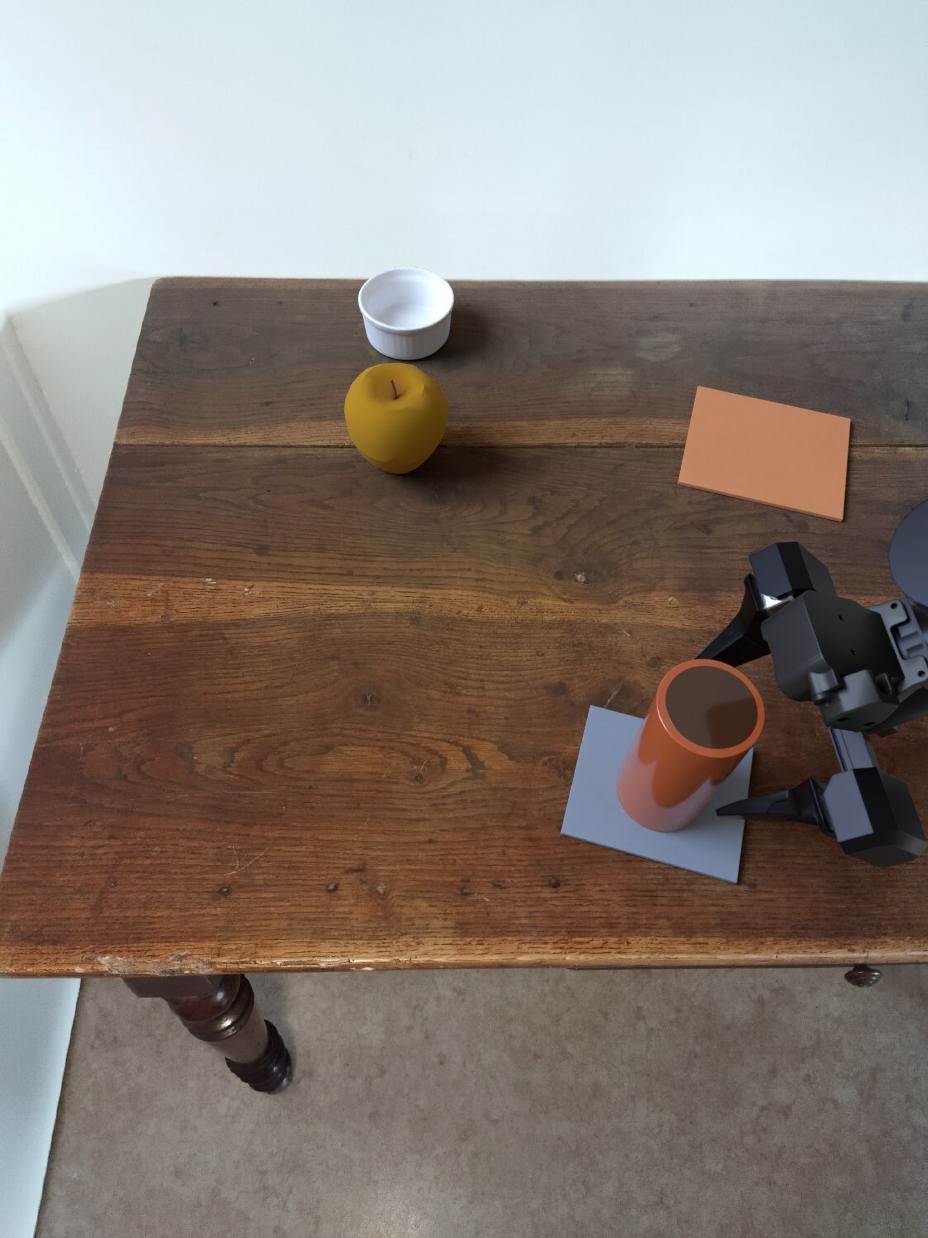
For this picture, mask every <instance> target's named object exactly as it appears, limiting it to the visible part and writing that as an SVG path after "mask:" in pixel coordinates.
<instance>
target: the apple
mask: <svg viewBox="0 0 928 1238" xmlns="http://www.w3.org/2000/svg"><path fill="white" fill-rule="evenodd" d="M344 399H345V400H344V408H343V412H344V417H345V424H346V429H347V432H348V435H349V438H350V440H351V442H352V443H353V445H354V446H355V448H356V449H357V451H358V452H359V454H360V455H361V456H362V457H363V458H364V459H365V460H367V461H368V462H369V463H370V464H371V465H373V466H374V467H375V468H376V469H379V470H381V471H382V472H385V473H389V474H394V475H401V474H408V473H410V472H412V471H414V470H416V469H417V468H419V467H420V466H422V465H423V464H424V463H425V462H426V461H427V460H428V459H429V458H430V457H431V456H432V455H433V453H434V452H435V450H436V449H437V447H438V445H440V443H441V442H442V440H443V438H444V437H445V433H446V431H447V427H448V423H449V419H450V406H449V402H448V401H449V400H448V398H447V396H446V394H445V392H444V391H443V389H442V388H441V386H440V385H439V383H438V382H437V381H436V380H435V379H434V378H432V377H431V376H429V375H428V373H425V372H424V371H423V370H421V369H420V368H419V367H417V366H416V365H413V364H410V363H409V364H408V363H403V362H389V363H388V362H386V363H377V364H376V365H372V366H369V367H367V368H365V370H362V372H361V373H360V374H358V376H357V377H356V378H355V379H354V381H353V382H352V383H351V385H350V387H349V389H348V391H347V394H346V397H345V398H344Z"/></svg>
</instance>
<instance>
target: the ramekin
mask: <svg viewBox="0 0 928 1238" xmlns="http://www.w3.org/2000/svg"><path fill="white" fill-rule="evenodd" d="M357 298H358V299H357V300H358V301H357V302H358V306H359V310H360V313H361V314H362V319H363V322H364V329H365V333H366V337H367V340H368V341H369V344H370V345H371V346H372V347H373V348H374V349H375V350H376V351H377V352H379V353H380V354H382V355H384V356H386V357H389V358H392V359H395V360H402V361H411V360H413V361H414V360H418V359H419V360H420V359H422V358H426V357H429V356H431V355H432V354H433V355H434V353H436V352H437V351H438V350H440V349H441V348H442V347H443V346H444V345H445V344H446V342H447V340H448V339H449V335H450V329H451V320H452V311H453V308H454V303H455V294H454V290H453V288H452V286H451V285H450V284H449V282H448V281H447V280H446V279H445V278H444V277H442V276H441V275H439V274H437V272H433V271H431V270H429V269H426V268H422V267H416V266H399V267H398V266H397V267H392V268H387V269H384V270H381V271H380V272H378V273H376V274H374V275H372V276H371V277H370V278H369V279H367V280H366V281H365V282H364V283H363V285H362V286H361V288H360V289H359V292H358V297H357Z"/></svg>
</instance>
